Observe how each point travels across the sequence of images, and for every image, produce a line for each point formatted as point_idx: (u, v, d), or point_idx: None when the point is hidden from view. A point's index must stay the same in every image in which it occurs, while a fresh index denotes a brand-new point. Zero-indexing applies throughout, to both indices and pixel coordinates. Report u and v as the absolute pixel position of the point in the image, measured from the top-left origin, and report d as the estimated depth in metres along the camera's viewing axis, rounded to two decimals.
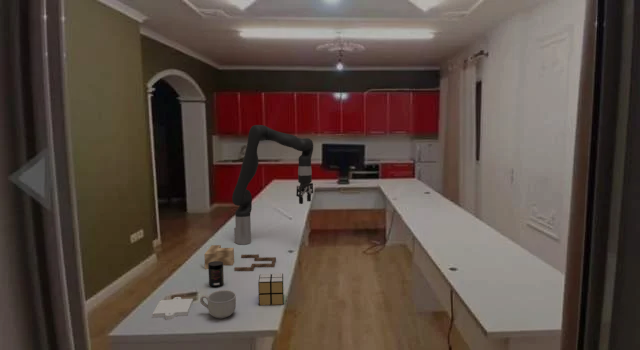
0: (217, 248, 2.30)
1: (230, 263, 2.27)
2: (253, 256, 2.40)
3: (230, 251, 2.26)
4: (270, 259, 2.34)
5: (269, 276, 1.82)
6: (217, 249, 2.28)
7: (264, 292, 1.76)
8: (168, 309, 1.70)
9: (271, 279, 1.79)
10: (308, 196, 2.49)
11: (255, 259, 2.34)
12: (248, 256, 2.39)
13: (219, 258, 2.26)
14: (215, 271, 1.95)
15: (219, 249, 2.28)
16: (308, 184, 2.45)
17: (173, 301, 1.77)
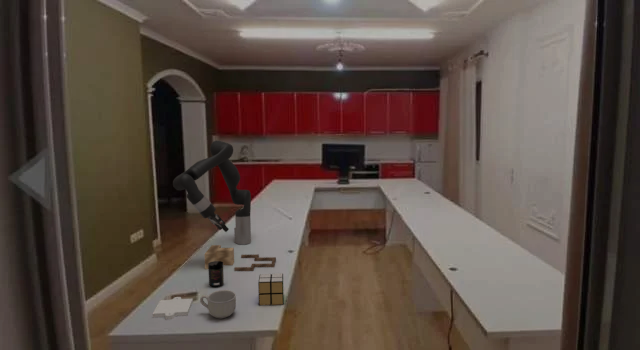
0: (217, 248, 2.30)
1: (230, 263, 2.27)
2: (253, 256, 2.40)
3: (230, 251, 2.26)
4: (270, 259, 2.34)
5: (269, 276, 1.82)
6: (217, 249, 2.28)
7: (264, 292, 1.76)
8: (168, 309, 1.70)
9: (271, 279, 1.79)
10: None
11: (255, 259, 2.34)
12: (248, 256, 2.39)
13: (219, 258, 2.26)
14: (215, 271, 1.95)
15: (219, 249, 2.28)
16: (211, 217, 2.19)
17: (173, 301, 1.77)
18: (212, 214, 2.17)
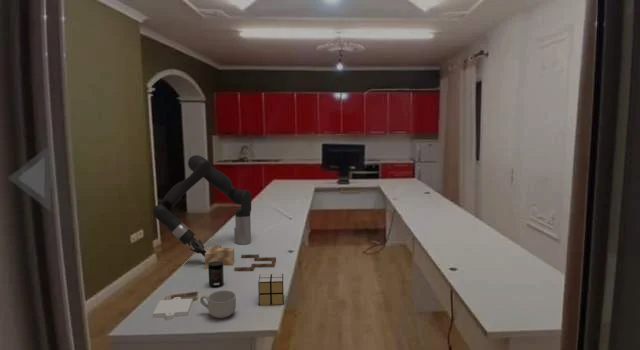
0: (217, 248, 2.30)
1: (230, 263, 2.27)
2: (253, 256, 2.40)
3: (230, 251, 2.26)
4: (270, 259, 2.34)
5: (269, 276, 1.82)
6: (217, 249, 2.28)
7: (264, 292, 1.76)
8: (168, 309, 1.70)
9: (271, 279, 1.79)
10: None
11: (255, 259, 2.34)
12: (248, 256, 2.39)
13: (219, 258, 2.26)
14: (215, 271, 1.95)
15: (219, 249, 2.28)
16: None
17: (173, 301, 1.77)
18: (187, 241, 2.24)
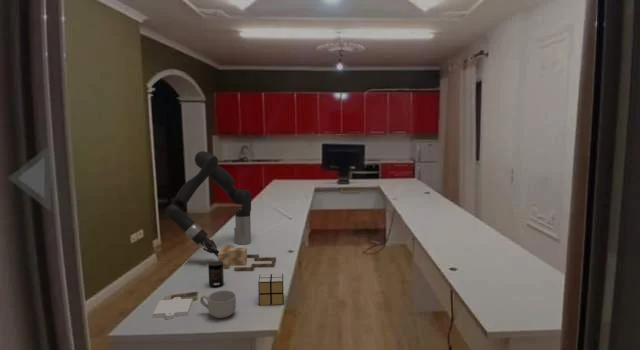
0: (230, 248, 2.30)
1: (243, 263, 2.27)
2: (253, 256, 2.40)
3: (243, 251, 2.26)
4: (270, 259, 2.34)
5: (269, 276, 1.82)
6: (230, 249, 2.28)
7: (264, 292, 1.76)
8: (168, 309, 1.70)
9: (271, 279, 1.79)
10: None
11: (255, 259, 2.34)
12: (248, 256, 2.39)
13: (232, 258, 2.26)
14: (215, 271, 1.95)
15: (232, 249, 2.28)
16: None
17: (173, 301, 1.77)
18: (201, 241, 2.24)
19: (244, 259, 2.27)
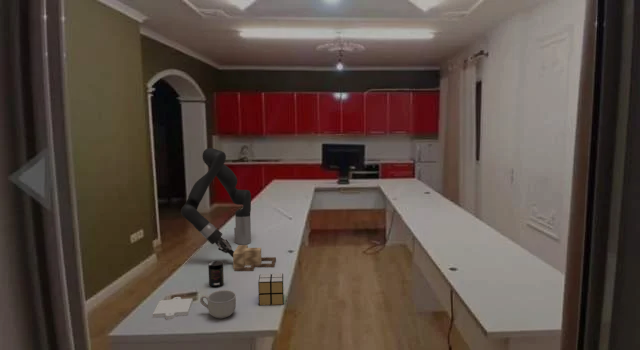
0: (245, 248, 2.30)
1: (258, 263, 2.27)
2: None
3: (258, 251, 2.26)
4: (270, 259, 2.34)
5: (269, 276, 1.82)
6: (245, 249, 2.28)
7: (264, 292, 1.76)
8: (168, 309, 1.70)
9: (271, 279, 1.79)
10: None
11: None
12: None
13: (247, 257, 2.26)
14: (215, 271, 1.95)
15: (247, 249, 2.28)
16: None
17: (173, 301, 1.77)
18: (215, 241, 2.24)
19: (259, 259, 2.27)
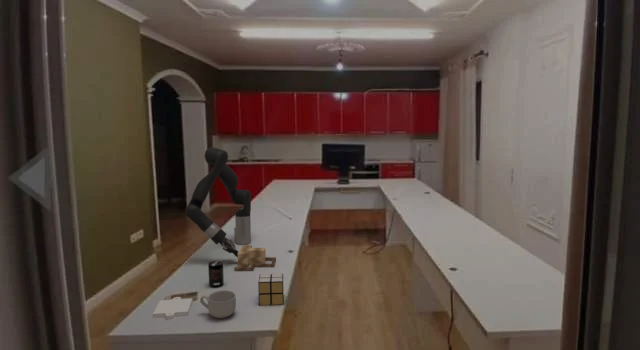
0: (249, 248, 2.30)
1: (262, 263, 2.27)
2: None
3: (262, 251, 2.26)
4: (270, 259, 2.34)
5: (269, 276, 1.82)
6: (249, 249, 2.28)
7: (264, 292, 1.76)
8: (168, 309, 1.70)
9: (271, 279, 1.79)
10: None
11: None
12: None
13: (251, 258, 2.26)
14: (215, 271, 1.95)
15: (251, 249, 2.28)
16: None
17: (173, 301, 1.77)
18: (220, 241, 2.24)
19: (263, 259, 2.27)
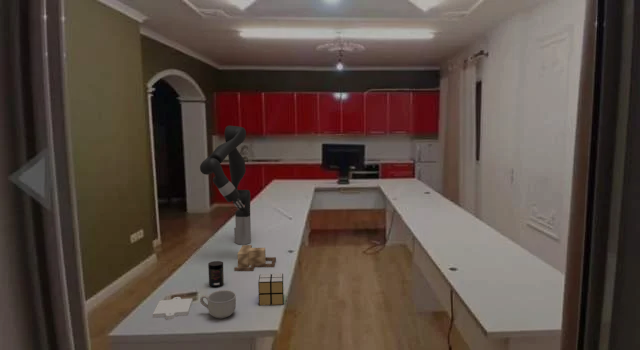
0: (249, 248, 2.30)
1: (262, 263, 2.27)
2: None
3: (262, 251, 2.26)
4: (270, 259, 2.34)
5: (269, 276, 1.82)
6: (249, 249, 2.28)
7: (264, 292, 1.76)
8: (168, 309, 1.70)
9: (271, 279, 1.79)
10: None
11: None
12: None
13: (251, 257, 2.26)
14: (215, 271, 1.95)
15: (251, 249, 2.28)
16: (234, 202, 2.29)
17: (173, 301, 1.77)
18: (234, 199, 2.27)
19: (263, 259, 2.27)
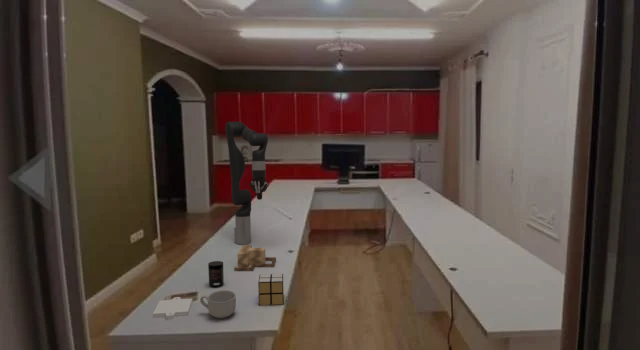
0: (249, 248, 2.30)
1: (262, 263, 2.27)
2: None
3: (262, 251, 2.26)
4: (270, 259, 2.34)
5: (269, 276, 1.82)
6: (249, 249, 2.28)
7: (264, 292, 1.76)
8: (168, 309, 1.70)
9: (271, 279, 1.79)
10: None
11: None
12: None
13: (251, 257, 2.26)
14: (215, 271, 1.95)
15: (251, 249, 2.28)
16: (260, 180, 2.43)
17: (173, 301, 1.77)
18: (264, 177, 2.43)
19: (263, 259, 2.27)
